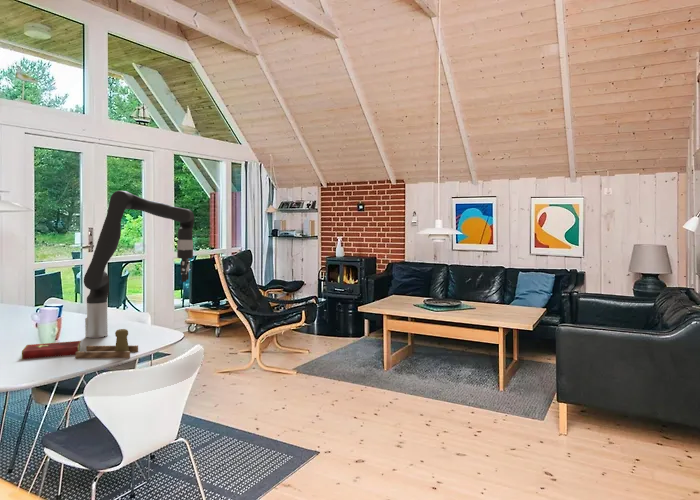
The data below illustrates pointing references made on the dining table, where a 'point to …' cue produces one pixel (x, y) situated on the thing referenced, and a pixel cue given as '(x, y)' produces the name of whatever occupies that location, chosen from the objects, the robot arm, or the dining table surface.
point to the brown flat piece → (105, 352)
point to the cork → (121, 340)
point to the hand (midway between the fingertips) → (185, 280)
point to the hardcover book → (50, 350)
